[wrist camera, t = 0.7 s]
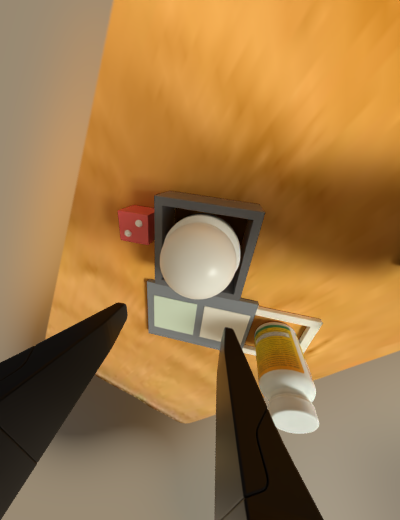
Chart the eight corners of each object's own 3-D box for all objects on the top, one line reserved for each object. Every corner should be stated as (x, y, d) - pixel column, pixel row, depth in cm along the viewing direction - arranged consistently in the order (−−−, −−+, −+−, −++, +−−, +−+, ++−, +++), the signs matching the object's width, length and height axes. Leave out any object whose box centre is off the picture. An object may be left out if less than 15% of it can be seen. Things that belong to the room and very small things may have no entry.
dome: (247, 217, 16) (254, 244, 10) (231, 281, 19) (230, 328, 13) (172, 205, 16) (139, 224, 11) (169, 269, 20) (143, 308, 14)
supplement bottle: (304, 336, 23) (343, 431, 15) (271, 352, 26) (289, 442, 17) (276, 313, 22) (301, 400, 14) (245, 332, 25) (250, 416, 16)
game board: (323, 315, 21) (326, 319, 20) (292, 364, 26) (294, 368, 25) (148, 278, 23) (146, 281, 23) (150, 329, 28) (148, 333, 27)
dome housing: (259, 204, 17) (265, 212, 13) (238, 280, 21) (239, 301, 18) (132, 185, 18) (109, 188, 15) (137, 260, 22) (120, 276, 19)
